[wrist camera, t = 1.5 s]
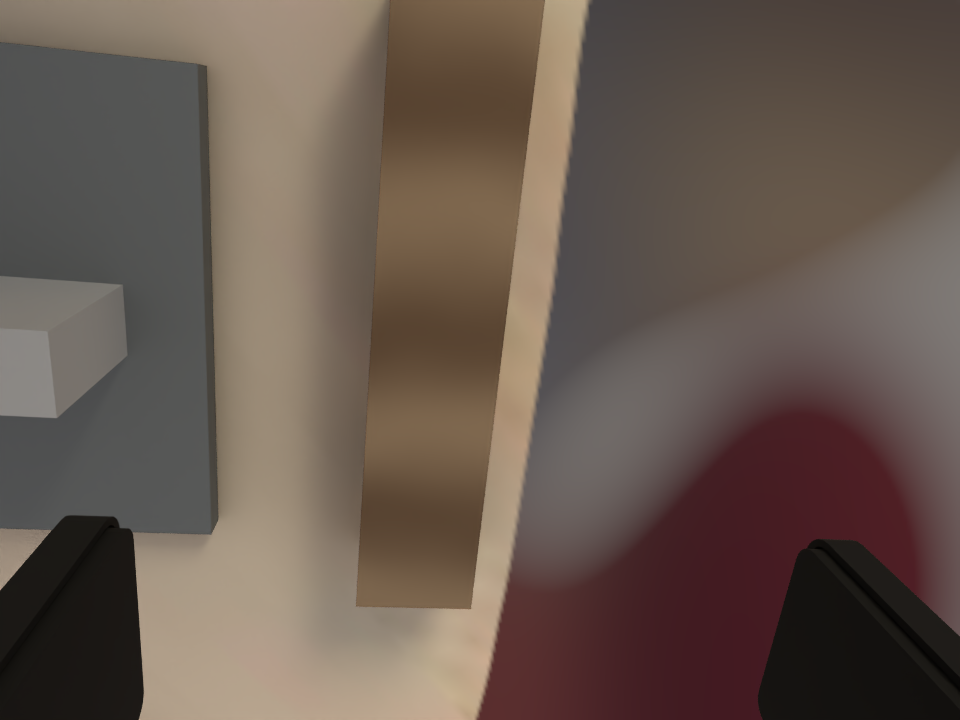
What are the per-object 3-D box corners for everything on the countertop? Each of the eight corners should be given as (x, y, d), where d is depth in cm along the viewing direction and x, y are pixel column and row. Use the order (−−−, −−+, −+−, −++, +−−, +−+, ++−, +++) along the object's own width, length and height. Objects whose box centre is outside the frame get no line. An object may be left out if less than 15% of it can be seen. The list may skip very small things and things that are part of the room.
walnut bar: (395, -20, 21) (393, -47, 18) (524, -3, 22) (547, -26, 18) (363, 539, 28) (355, 606, 24) (462, 543, 28) (470, 609, 25)
